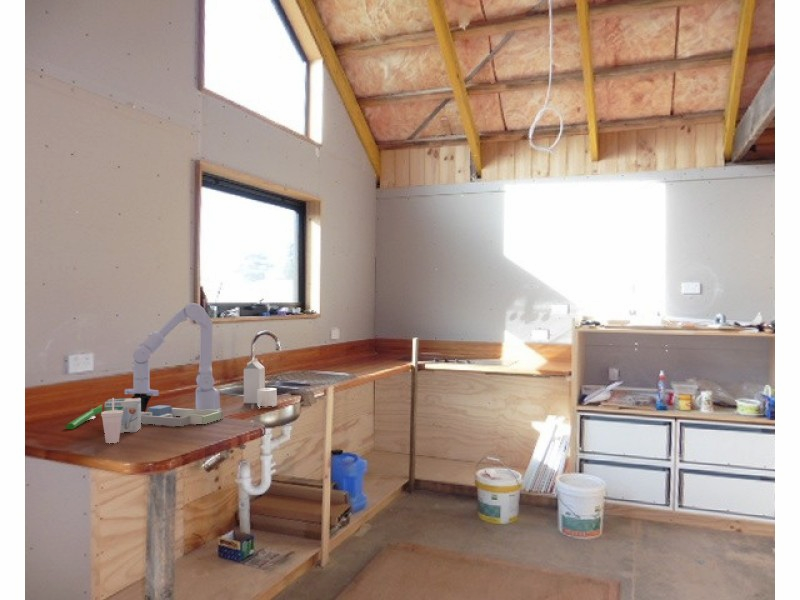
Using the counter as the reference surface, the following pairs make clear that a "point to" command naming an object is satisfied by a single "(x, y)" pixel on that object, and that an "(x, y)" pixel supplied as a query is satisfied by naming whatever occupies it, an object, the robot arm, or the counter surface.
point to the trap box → (182, 417)
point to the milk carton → (253, 380)
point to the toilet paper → (267, 397)
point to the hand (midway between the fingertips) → (141, 413)
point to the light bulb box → (127, 413)
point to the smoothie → (112, 424)
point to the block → (160, 410)
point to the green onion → (84, 417)
